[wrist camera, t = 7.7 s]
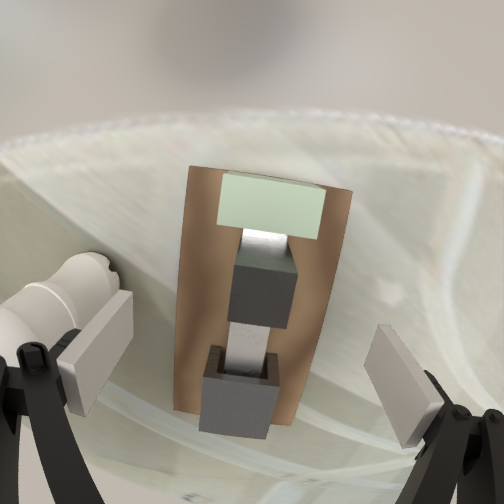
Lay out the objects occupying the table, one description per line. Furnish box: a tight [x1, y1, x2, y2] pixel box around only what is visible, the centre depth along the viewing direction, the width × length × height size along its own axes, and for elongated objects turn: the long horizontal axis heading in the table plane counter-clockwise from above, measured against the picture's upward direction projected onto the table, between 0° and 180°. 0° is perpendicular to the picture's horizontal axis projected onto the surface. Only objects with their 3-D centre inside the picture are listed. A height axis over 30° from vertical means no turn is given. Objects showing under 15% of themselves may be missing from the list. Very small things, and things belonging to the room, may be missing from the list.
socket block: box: [217, 171, 326, 240], centre depth 27 cm, size 8×4×6 cm, turn 82°
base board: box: [174, 166, 353, 426], centre depth 35 cm, size 16×31×1 cm, turn 172°
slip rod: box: [224, 228, 298, 379], centre depth 27 cm, size 4×21×12 cm, turn 171°
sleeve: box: [199, 345, 280, 439], centre depth 33 cm, size 8×8×6 cm
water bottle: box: [0, 252, 119, 367], centre depth 22 cm, size 7×7×25 cm
